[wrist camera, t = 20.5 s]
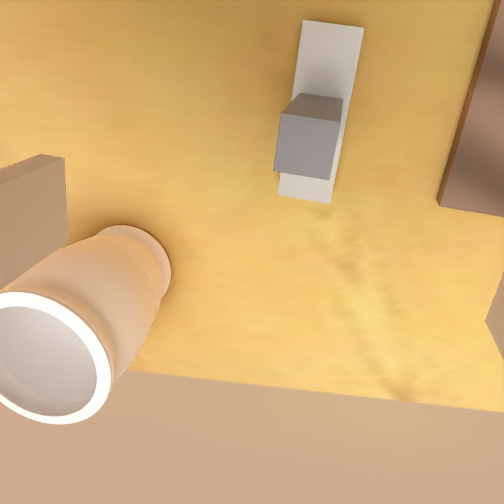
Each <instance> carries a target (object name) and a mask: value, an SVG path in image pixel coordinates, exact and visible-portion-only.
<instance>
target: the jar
mask: <svg viewBox="0 0 504 504" xmlns="http://www.w3.org/2000/svg"><path fill="white" fill-rule="evenodd" d="M170 280H171V266H170V262H169V259H168V256H167V254H166V252H165V251H164V249H163V247H162V246H161V245H160V244H159V242H158V241H157V240H156V239H155V238H153V237H152V236H151V235H150V234H148V233H147V232H145V231H143V230H141V229H139V228H136V227H132V226H127V225H115V226H111V227H107V228H105V229H103V230H101V231H100V232H98V233H97V234H96V235H95V236H94V237H90V238H86V239H84V240H81V241H78V242H76V243H74V244H72V245H69V246H67V247H64V248H62V249H60V250H57V251H55V252H53V253H51V254H50V255H49V256H47V257H46V258H45V259H43V260H42V261H40V262H39V263H38V264H36V265H35V266H33V267H32V268H31V269H29V270H28V271H27V272H25V273H24V274H22V275H21V276H20V277H19V278H18V279H17V280H16V281H15V282H14V283H13V284H12V285H11V286H10V287H9V288H8V289H7V290H3V291H1V292H0V401H1V402H2V403H3V404H4V405H6V406H7V407H9V408H10V409H12V410H14V411H15V412H17V413H19V414H21V415H23V416H25V417H28V418H30V419H33V420H36V421H40V422H44V423H51V424H70V423H75V422H79V421H82V420H84V419H87V418H88V417H90V416H92V415H93V414H95V413H96V412H97V411H98V410H99V409H100V408H101V406H102V405H103V404H104V402H105V401H106V400H107V398H108V397H109V395H110V393H111V390H112V387H113V384H114V381H115V380H116V379H117V378H118V377H119V376H120V375H121V374H122V373H123V372H124V371H125V370H126V369H127V368H128V366H129V365H130V364H131V363H132V361H133V360H134V359H135V357H136V356H137V355H138V353H139V352H140V350H141V348H142V347H143V345H144V343H145V341H146V339H147V337H148V335H149V332H150V330H151V327H152V324H153V321H154V319H155V316H156V314H157V312H158V309H159V305H160V301H161V298H162V297H163V296H164V294H165V293H166V291H167V289H168V287H169V284H170Z"/></svg>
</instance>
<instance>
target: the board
mask: <svg viewBox="0 0 504 504" xmlns="http://www.w3.org/2000/svg"><path fill="white" fill-rule="evenodd" d="M436 201H437V202H438V204H439V206H441V207H447V208H453V209H459V210H465V211H471V212H477V213H483V214H489V215H495V216H501V217H504V0H495V3H494V7H493V10H492V14H491V17H490V20H489V24H488V27H487V31H486V34H485V37H484V41H483V44H482V47H481V51H480V54H479V58H478V61H477V64H476V68H475V71H474V75H473V78H472V81H471V85H470V88H469V91H468V95H467V98H466V102H465V105H464V108H463V112H462V115H461V118H460V122H459V125H458V129H457V132H456V135H455V139H454V142H453V146H452V149H451V152H450V156H449V159H448V162H447V166H446V169H445V173H444V176H443V179H442V183H441V186H440V190H439V193H438V196H437V200H436Z"/></svg>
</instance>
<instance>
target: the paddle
mask: <svg viewBox="0 0 504 504" xmlns="http://www.w3.org/2000/svg"><path fill="white" fill-rule="evenodd" d="M364 29H365V28H364V27H356V26H348V25H340V24H332V23H324V22H316V21H309V20H303V23H302V30H301V37H300V43H299V50H298V57H297V64H296V71H295V78H294V85H293V91H292V98H291V103H290V104H289V105H288V106H287V107H286V108H285V109H284V111H283V112H282V113H281V117H280V125H279V132H278V139H277V146H276V153H275V161H274V168H273V171H275V172H281V174H280V181H279V187H278V194H277V195H282V196H288V197H293V198H299V199H305V200H311V201H317V202H323V203H329V204H330V201H331V196H332V191H333V186H334V181H335V176H336V171H337V166H338V161H339V156H340V151H341V145H342V140H343V135H344V130H345V125H346V120H347V115H348V110H349V105H350V100H351V95H352V90H353V84H354V79H355V74H356V69H357V64H358V59H359V54H360V49H361V44H362V39H363V34H364Z"/></svg>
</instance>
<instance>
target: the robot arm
mask: <svg viewBox="0 0 504 504" xmlns="http://www.w3.org/2000/svg"><path fill="white" fill-rule="evenodd" d="M68 241H69V240H68V220H67V201H66V181H65V161H64V158H61V157H55V156H50V155H44V154H40V155H37V156H34V157H32V158H29V159H26V160H24V161H21V162H18V163H16V164H13V165H10V166H8V167H5V168H2V169H0V290H2V289H3V288H4V287H6V286H7V285H9V284H10V283H11V282H13V281H14V280H16V279H17V278H18V277H20V276H21V275H22V274H24V273H25V272H27V271H28V270H29V269H31V268H32V267H33V266H35V265H36V264H38V263H39V262H40V261H42V260H43V259H45V258H46V257H47V256H49V255H50V254H51V253H53V252H54V251H56V250H57V249H58V248H60V247H61V246H62V245H64V244H65V243H67V242H68ZM485 322H486V324H487V326H488V328H489V330H490V332H491V335H492V337H493V339H494V341H495V343H496V345H497V347H498V349H499V351H500V353H501V355H502V358H503V360H504V273H503V275H502V278H501V281H500V283H499V286H498V288H497V291H496V294H495V296H494V299H493V301H492V304H491V307H490V309H489V312H488V314H487V317H486V320H485Z"/></svg>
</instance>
